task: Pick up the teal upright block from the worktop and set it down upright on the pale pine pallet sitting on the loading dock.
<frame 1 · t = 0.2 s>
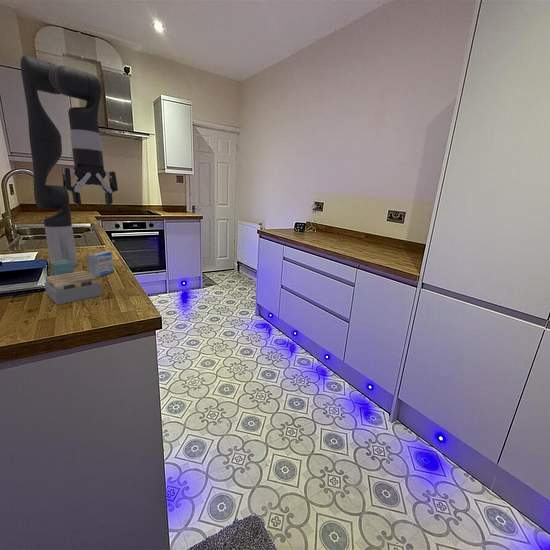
hand: (94, 205, 89), 28 cm above the table, tool pointing down, fingers open, 8 cm apart
pallet: (72, 283, 91), resting on loading dock
teal upright block: (64, 284, 102), on the table
medicine box: (102, 274, 115), on the table
loading dock: (74, 294, 93), on the table
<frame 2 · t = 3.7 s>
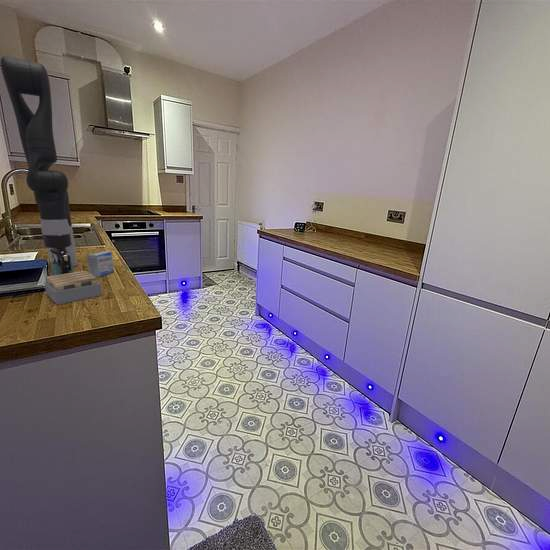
hand: (64, 280, 101), 1 cm above the table, tool pointing down, fingers closed on teal upright block, 5 cm apart
teal upright block: (64, 284, 102), on the table, touching gripper
everything else where it was.
when the fingers open (9 cm above the table, at t = 10.6 s): teal upright block drops 1 cm, resting on pallet.
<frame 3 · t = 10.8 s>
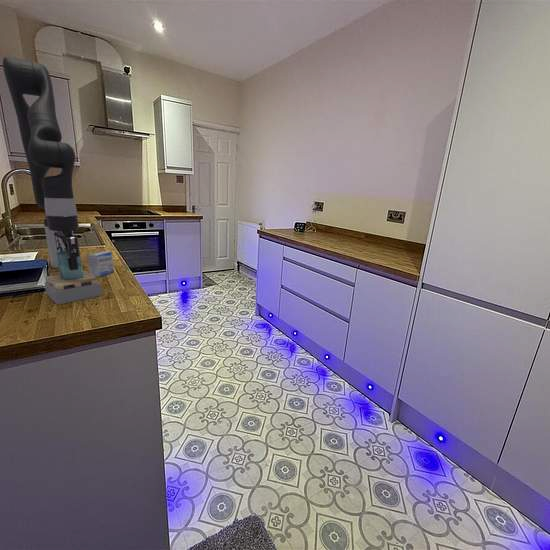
hand: (70, 267, 90), 9 cm above the table, tool pointing down, fingers open, 7 cm apart
teal upright block: (71, 277, 91), point 6 cm above the table, touching pallet
everything else where it was.
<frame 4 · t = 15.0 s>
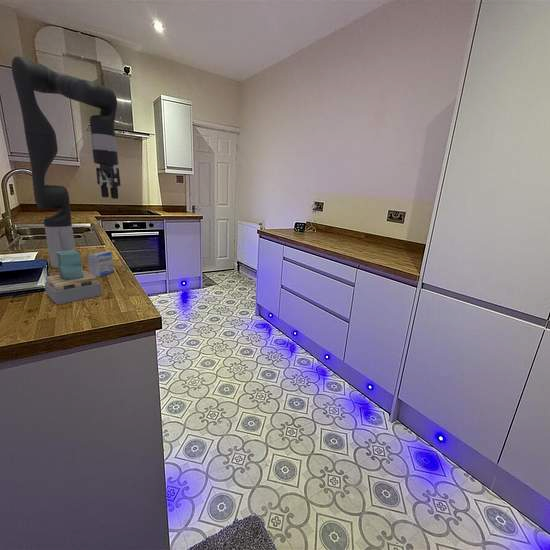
hand: (110, 197, 104), 30 cm above the table, tool pointing down, fingers open, 8 cm apart
nothing on the table moved.
at the end: teal upright block inside the target area on the loading dock (0.1 cm from its centre), point 6.0 cm above the loading dock's base; teal upright block tilted 0°; the gripper is holding nothing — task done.
